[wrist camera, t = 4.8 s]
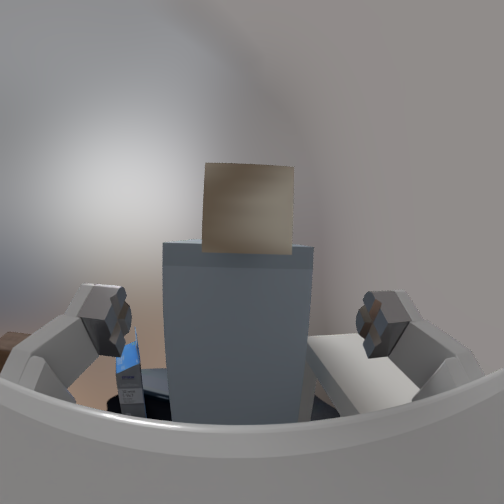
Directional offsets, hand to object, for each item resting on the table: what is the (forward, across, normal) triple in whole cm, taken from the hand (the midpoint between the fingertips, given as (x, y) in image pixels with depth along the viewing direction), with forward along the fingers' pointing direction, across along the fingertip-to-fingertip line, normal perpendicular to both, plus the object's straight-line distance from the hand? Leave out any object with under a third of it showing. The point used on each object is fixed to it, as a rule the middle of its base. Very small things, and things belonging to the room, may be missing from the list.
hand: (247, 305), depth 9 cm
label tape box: (+12, +16, +35) cm, 40 cm away
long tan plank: (+10, 0, +4) cm, 11 cm away
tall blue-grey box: (+3, 0, +30) cm, 30 cm away
